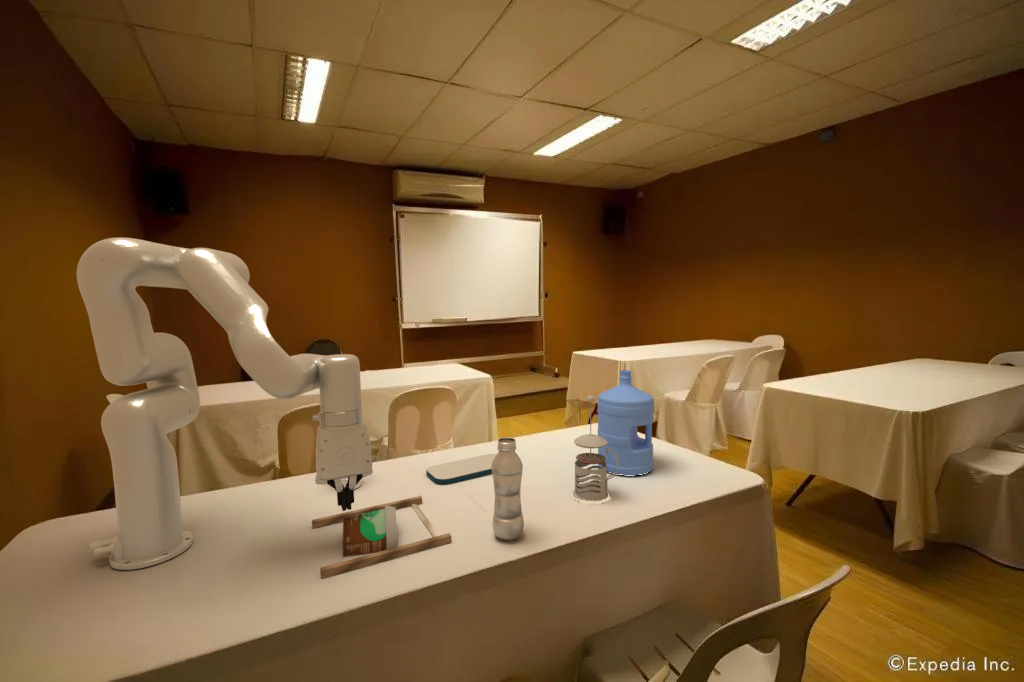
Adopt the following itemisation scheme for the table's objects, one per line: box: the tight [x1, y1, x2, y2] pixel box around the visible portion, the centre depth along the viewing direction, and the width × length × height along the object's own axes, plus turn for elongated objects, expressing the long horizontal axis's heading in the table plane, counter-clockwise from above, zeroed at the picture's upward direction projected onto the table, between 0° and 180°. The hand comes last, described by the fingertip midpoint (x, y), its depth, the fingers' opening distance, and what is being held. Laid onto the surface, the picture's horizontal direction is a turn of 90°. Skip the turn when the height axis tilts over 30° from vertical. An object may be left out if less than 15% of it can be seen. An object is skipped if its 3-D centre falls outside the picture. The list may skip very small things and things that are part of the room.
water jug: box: [597, 369, 655, 475], centre depth 126 cm, size 16×16×28 cm
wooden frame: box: [311, 495, 452, 580], centre depth 92 cm, size 24×21×1 cm
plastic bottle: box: [491, 436, 525, 541], centre depth 89 cm, size 6×7×20 cm
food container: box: [342, 506, 399, 557], centre depth 89 cm, size 12×6×10 cm
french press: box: [572, 395, 619, 502], centre depth 107 cm, size 10×12×25 cm
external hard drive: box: [425, 453, 498, 486], centre depth 126 cm, size 24×12×2 cm, turn 122°
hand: (346, 507), depth 88 cm, fingers closed
